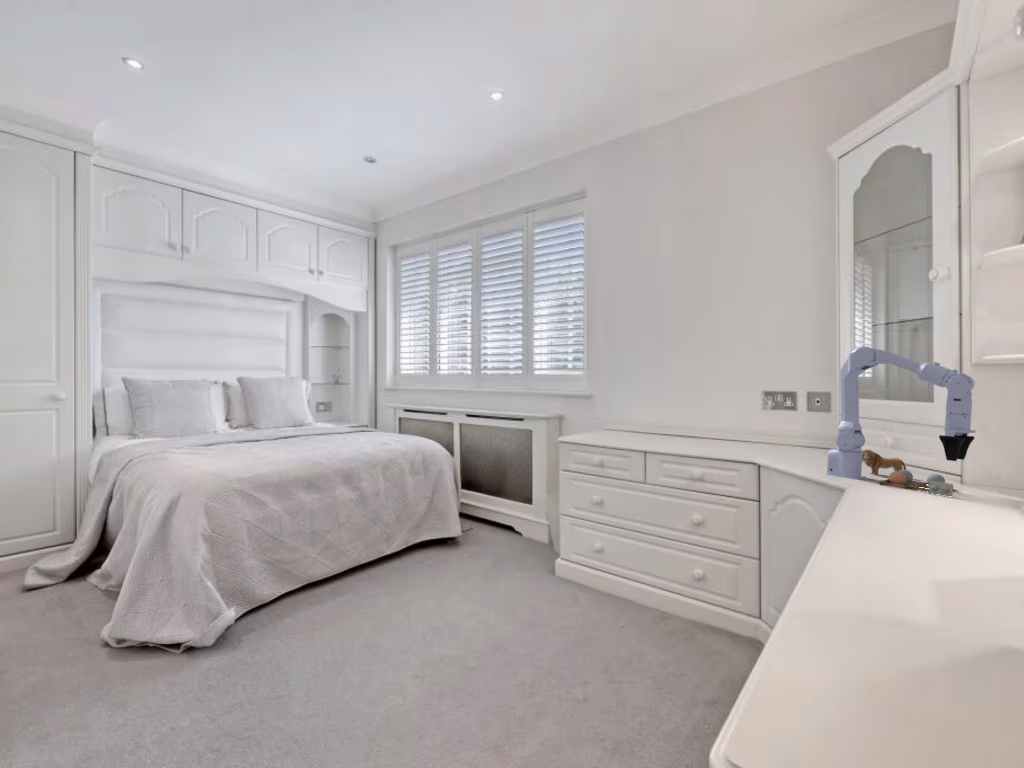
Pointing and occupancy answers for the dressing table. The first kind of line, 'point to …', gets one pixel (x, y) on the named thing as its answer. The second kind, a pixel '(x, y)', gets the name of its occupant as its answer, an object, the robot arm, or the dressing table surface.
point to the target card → (940, 488)
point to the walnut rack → (907, 485)
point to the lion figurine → (880, 462)
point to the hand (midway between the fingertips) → (955, 459)
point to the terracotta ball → (897, 478)
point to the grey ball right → (935, 478)
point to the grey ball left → (907, 475)
